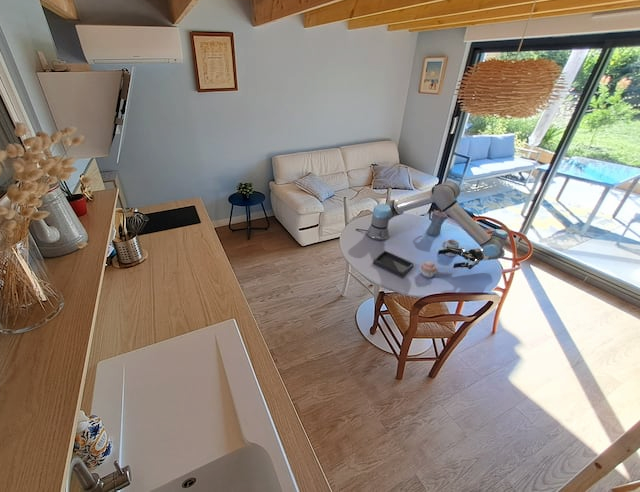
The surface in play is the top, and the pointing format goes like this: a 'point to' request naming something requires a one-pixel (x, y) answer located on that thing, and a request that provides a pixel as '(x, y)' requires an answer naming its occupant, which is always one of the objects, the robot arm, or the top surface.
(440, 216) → the moka pot
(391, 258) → the baking tray
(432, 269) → the cupcake
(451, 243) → the cup
